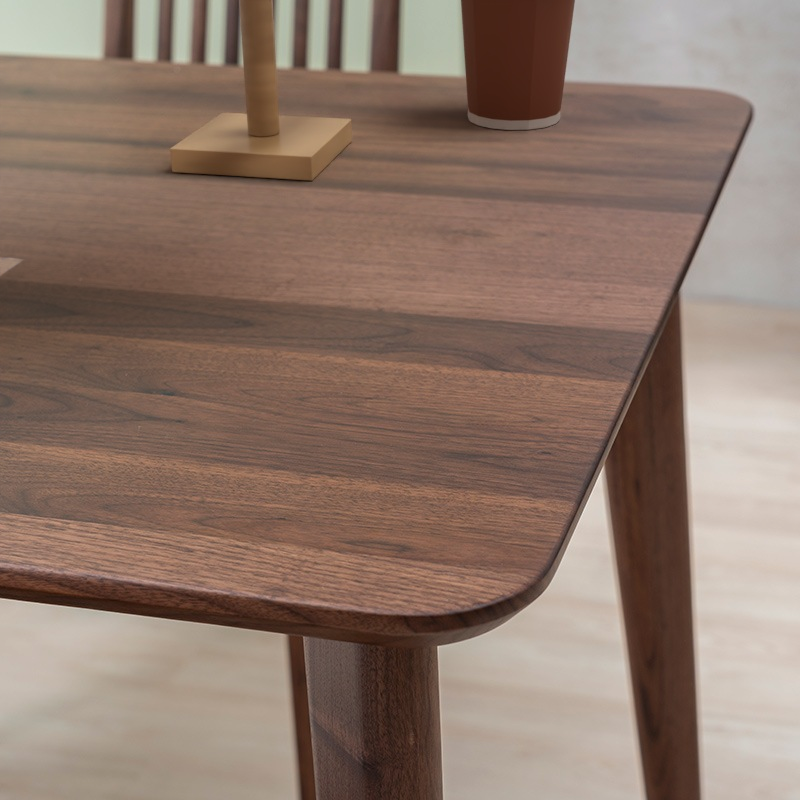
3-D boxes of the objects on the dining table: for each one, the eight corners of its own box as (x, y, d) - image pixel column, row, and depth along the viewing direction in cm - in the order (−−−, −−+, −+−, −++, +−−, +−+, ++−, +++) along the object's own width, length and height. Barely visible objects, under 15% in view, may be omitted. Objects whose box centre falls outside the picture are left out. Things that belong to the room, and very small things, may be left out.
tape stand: (171, 172, 77) (154, -6, 72) (223, 134, 85) (211, -29, 80) (312, 181, 75) (304, -1, 70) (352, 141, 83) (347, -25, 78)
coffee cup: (577, 137, 83) (588, -54, 78) (440, 132, 84) (441, -56, 79) (581, 104, 91) (591, -72, 86) (456, 100, 92) (458, -73, 87)
